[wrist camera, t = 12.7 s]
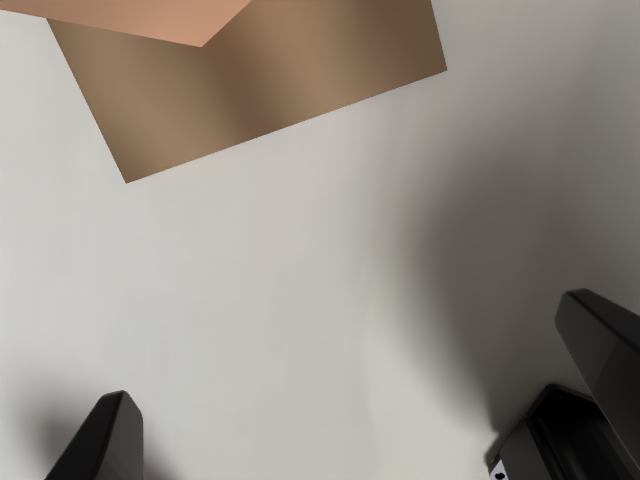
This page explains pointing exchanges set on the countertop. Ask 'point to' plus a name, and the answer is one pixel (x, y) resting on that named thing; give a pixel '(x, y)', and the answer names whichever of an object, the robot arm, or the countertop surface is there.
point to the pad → (244, 74)
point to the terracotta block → (139, 16)
